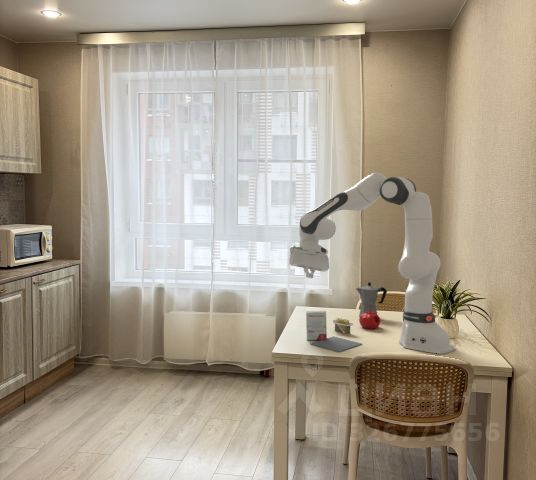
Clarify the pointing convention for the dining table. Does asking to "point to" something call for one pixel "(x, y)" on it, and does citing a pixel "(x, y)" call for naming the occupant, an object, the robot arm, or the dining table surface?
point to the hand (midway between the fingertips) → (309, 277)
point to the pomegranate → (369, 320)
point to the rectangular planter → (342, 325)
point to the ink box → (316, 325)
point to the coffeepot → (370, 297)
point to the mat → (336, 344)
